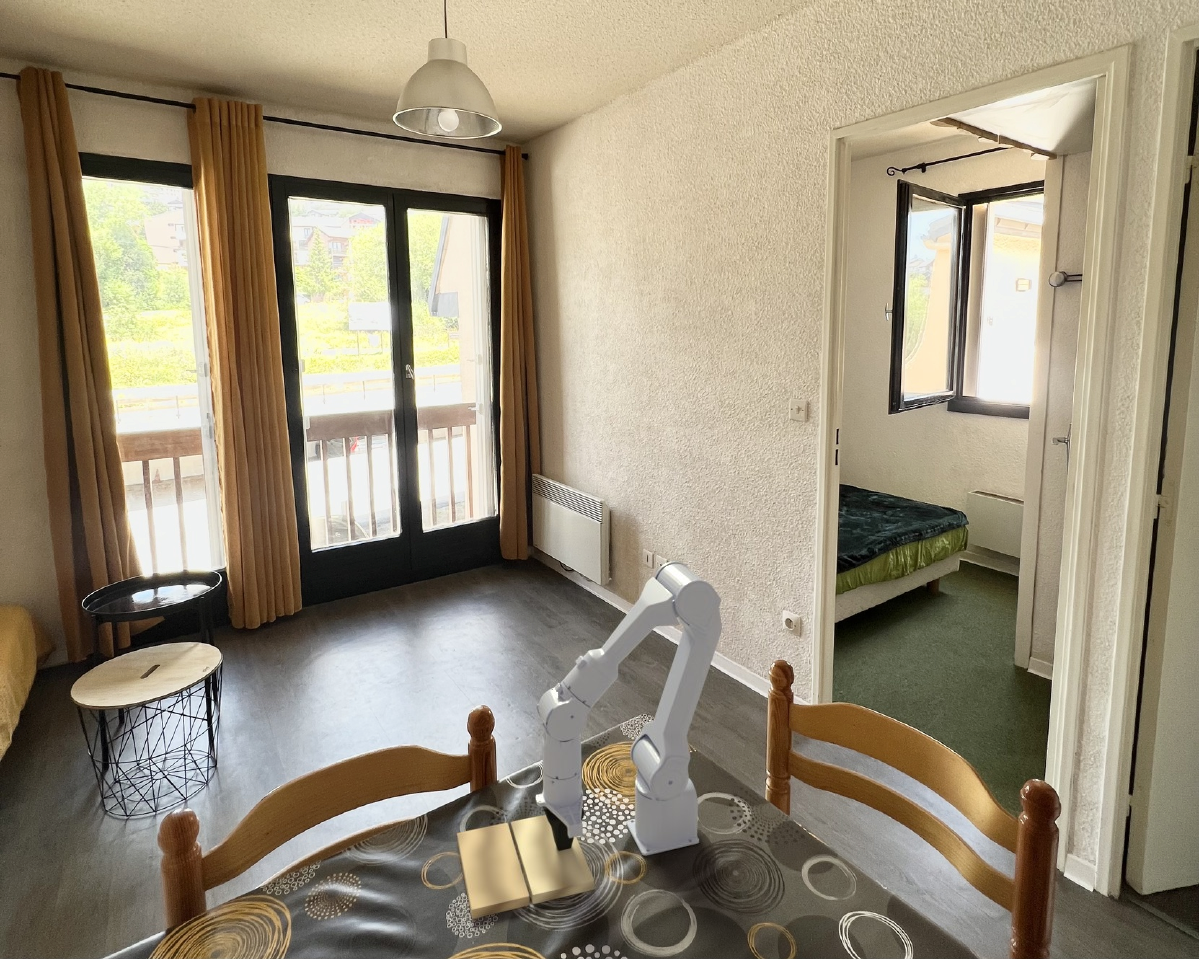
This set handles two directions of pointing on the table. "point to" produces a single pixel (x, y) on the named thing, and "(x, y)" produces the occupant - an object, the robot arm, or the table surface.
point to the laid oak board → (491, 870)
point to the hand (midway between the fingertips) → (563, 847)
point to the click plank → (549, 861)
